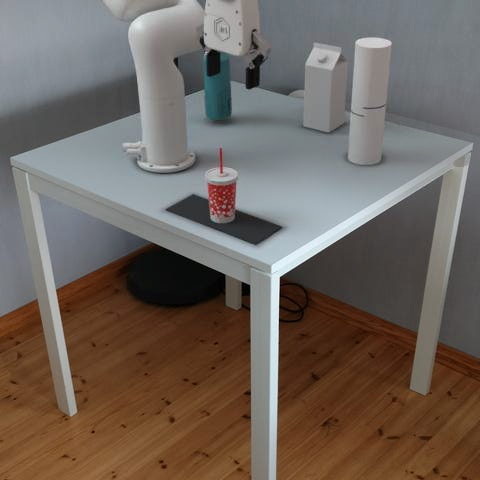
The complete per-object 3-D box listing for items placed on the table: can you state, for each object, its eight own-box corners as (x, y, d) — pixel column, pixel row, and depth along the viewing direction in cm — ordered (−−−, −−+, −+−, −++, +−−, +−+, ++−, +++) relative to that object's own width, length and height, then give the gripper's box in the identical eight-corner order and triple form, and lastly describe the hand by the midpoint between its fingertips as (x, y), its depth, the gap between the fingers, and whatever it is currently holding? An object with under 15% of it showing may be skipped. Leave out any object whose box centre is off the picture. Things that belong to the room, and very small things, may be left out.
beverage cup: (241, 223, 148) (240, 154, 140) (208, 226, 147) (205, 156, 140) (236, 208, 153) (234, 140, 145) (204, 211, 152) (201, 143, 145)
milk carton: (318, 117, 193) (322, 38, 182) (344, 123, 189) (349, 43, 179) (303, 127, 188) (305, 46, 177) (329, 133, 184) (333, 51, 174)
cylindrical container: (379, 166, 169) (390, 48, 155) (346, 163, 170) (354, 47, 156) (381, 152, 175) (392, 38, 161) (349, 150, 176) (357, 36, 162)
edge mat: (165, 210, 154) (165, 208, 154) (193, 195, 159) (193, 193, 159) (255, 245, 142) (255, 243, 142) (282, 227, 147) (282, 226, 147)
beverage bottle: (232, 125, 189) (230, 41, 178) (204, 126, 189) (200, 41, 178) (232, 115, 194) (230, 33, 183) (205, 115, 195) (202, 33, 184)
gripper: (182, -20, 140) (185, 75, 150) (256, -2, 130) (254, 98, 140) (211, -27, 145) (212, 65, 154) (285, -11, 135) (281, 87, 145)
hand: (232, 81), depth 147 cm, fingers open, 9 cm apart
